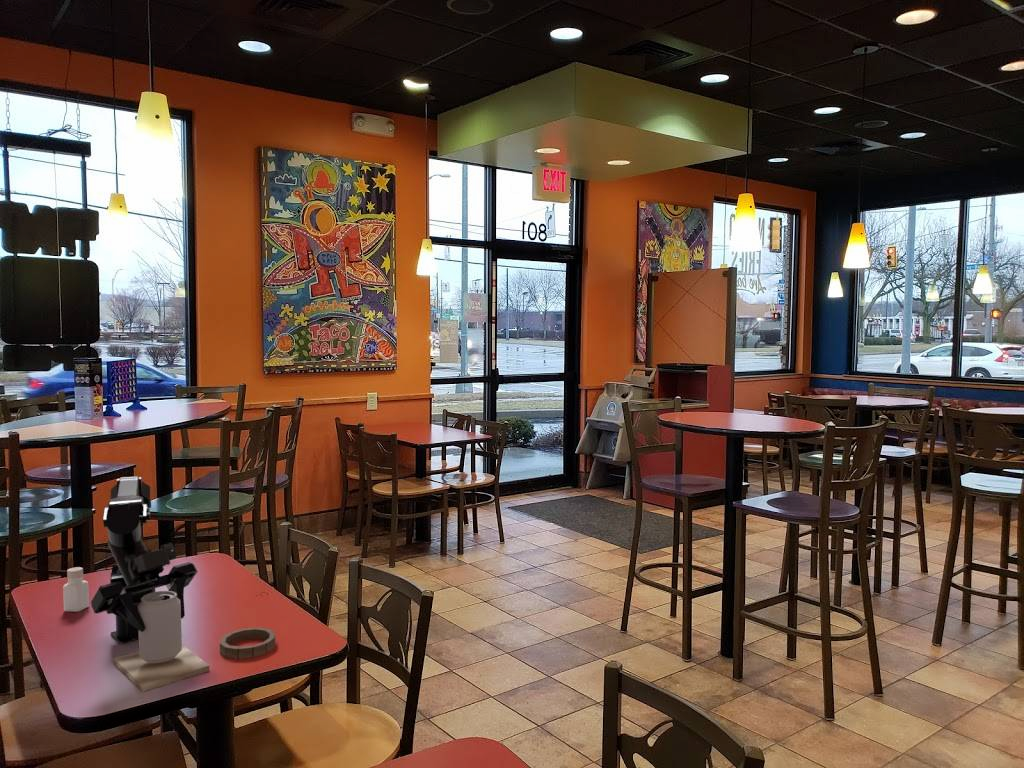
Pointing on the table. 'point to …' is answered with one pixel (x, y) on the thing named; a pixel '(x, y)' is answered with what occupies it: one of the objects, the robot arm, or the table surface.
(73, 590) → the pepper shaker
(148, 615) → the can
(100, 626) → the table surface
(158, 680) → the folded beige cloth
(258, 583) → the table surface
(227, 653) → the walnut collar
